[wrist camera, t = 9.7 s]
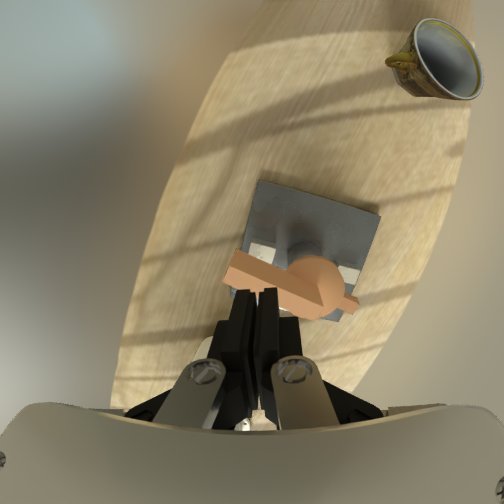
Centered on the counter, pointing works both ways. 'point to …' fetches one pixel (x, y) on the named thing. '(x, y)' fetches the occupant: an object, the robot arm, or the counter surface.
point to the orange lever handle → (294, 284)
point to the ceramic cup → (438, 63)
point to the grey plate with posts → (308, 232)
